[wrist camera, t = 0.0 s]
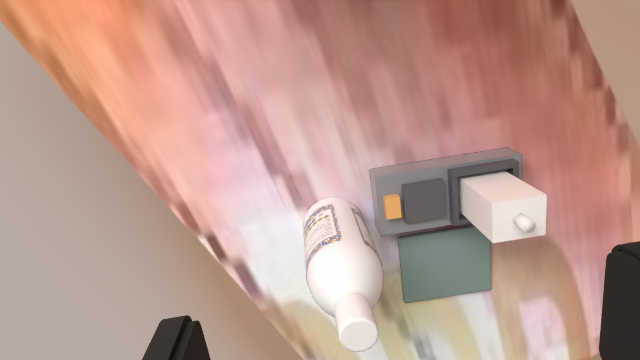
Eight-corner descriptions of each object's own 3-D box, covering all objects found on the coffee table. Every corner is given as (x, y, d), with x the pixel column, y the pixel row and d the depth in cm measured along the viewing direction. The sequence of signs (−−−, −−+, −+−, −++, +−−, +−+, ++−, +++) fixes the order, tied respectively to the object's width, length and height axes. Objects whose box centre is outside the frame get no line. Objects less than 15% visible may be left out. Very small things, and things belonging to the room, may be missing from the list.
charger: (457, 177, 45) (500, 210, 35) (503, 169, 45) (557, 201, 36) (459, 211, 46) (501, 251, 37) (503, 203, 46) (555, 242, 37)
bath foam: (297, 244, 49) (300, 367, 30) (310, 190, 47) (323, 286, 28) (353, 254, 50) (391, 381, 31) (368, 202, 48) (419, 303, 29)
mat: (397, 236, 50) (398, 239, 49) (487, 222, 50) (489, 224, 49) (403, 300, 52) (404, 303, 52) (488, 286, 53) (490, 289, 52)
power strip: (369, 169, 47) (376, 180, 43) (507, 147, 47) (527, 156, 43) (375, 225, 49) (383, 240, 45) (507, 203, 49) (526, 217, 45)
